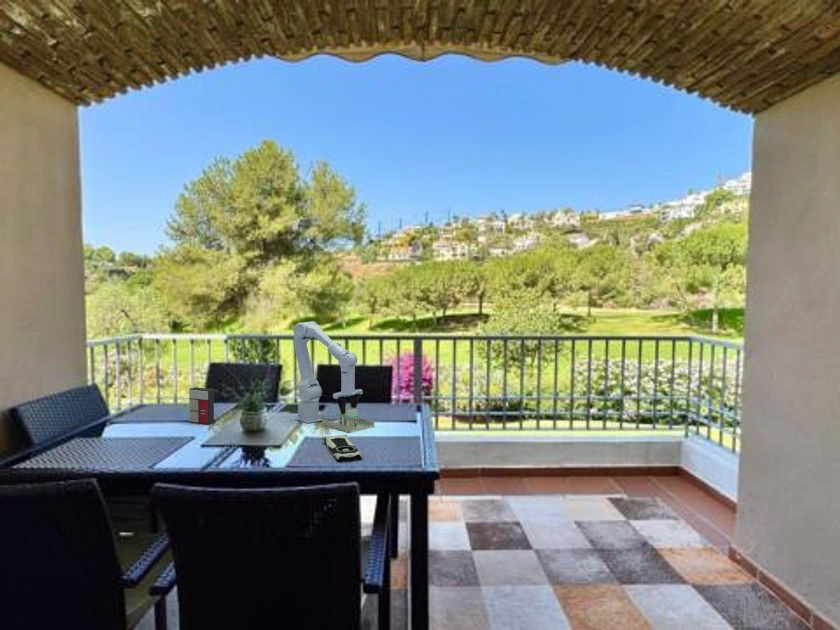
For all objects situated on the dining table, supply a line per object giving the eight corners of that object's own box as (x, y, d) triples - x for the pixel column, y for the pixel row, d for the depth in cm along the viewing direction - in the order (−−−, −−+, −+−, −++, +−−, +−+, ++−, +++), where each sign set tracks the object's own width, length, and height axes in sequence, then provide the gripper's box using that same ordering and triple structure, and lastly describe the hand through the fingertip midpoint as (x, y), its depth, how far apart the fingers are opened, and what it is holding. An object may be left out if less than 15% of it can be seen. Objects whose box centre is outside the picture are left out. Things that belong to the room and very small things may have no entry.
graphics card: (346, 433, 224) (362, 452, 200) (346, 442, 224) (362, 461, 201) (321, 436, 220) (334, 455, 197) (321, 445, 221) (334, 464, 197)
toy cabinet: (188, 422, 250) (187, 388, 249) (195, 420, 254) (195, 387, 253) (208, 425, 246) (207, 390, 245) (215, 422, 250) (214, 389, 249)
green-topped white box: (336, 415, 248) (336, 407, 248) (345, 413, 252) (345, 405, 251) (350, 419, 241) (351, 410, 241) (360, 417, 245) (360, 409, 244)
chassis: (322, 425, 248) (322, 417, 248) (347, 419, 258) (347, 412, 258) (348, 433, 235) (348, 425, 235) (374, 426, 245) (374, 419, 245)
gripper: (340, 385, 237) (340, 417, 238) (367, 380, 248) (366, 411, 249) (329, 382, 242) (330, 414, 243) (356, 378, 253) (356, 408, 254)
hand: (348, 412), depth 246 cm, fingers closed on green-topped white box, 5 cm apart
